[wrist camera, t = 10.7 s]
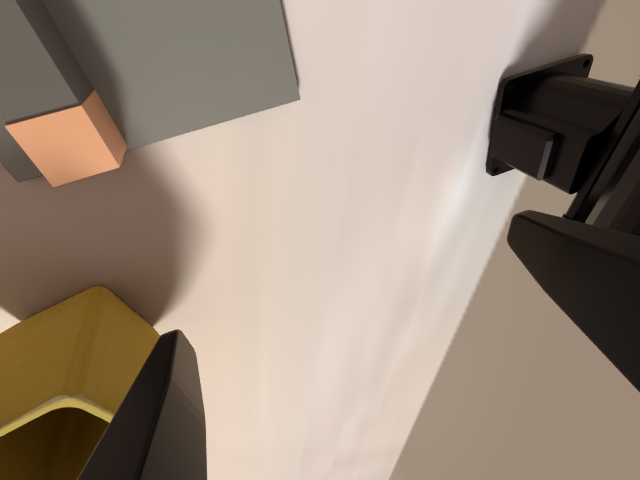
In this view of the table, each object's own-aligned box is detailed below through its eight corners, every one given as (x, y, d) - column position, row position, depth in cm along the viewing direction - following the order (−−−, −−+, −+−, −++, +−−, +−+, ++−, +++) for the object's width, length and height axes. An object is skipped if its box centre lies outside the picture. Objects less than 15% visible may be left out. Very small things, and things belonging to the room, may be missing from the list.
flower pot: (110, 242, 18) (68, 396, 11) (197, 328, 24) (205, 465, 17) (-46, 316, 18) (-191, 524, 11) (81, 386, 23) (40, 550, 16)
